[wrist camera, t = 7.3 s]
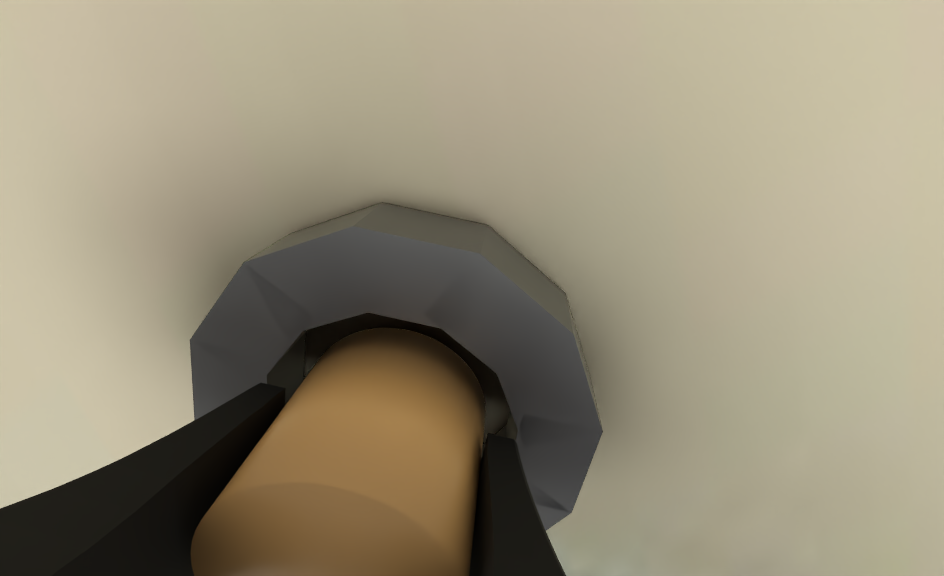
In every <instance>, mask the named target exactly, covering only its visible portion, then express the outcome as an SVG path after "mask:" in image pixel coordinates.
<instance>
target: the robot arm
mask: <svg viewBox="0 0 944 576" xmlns="http://www.w3.org/2000/svg"><path fill="white" fill-rule="evenodd" d="M285 390H286V388H283V387H278V386H274V385H270V384H265V383H259V384H257V385H255V386H253V387H252V388H250V389H248V390H246V391H245V392H243V393H241V394H240V395H238V396H236V397H234V398H233V399H231V400H229V401H228V402H226V403H224V404H222V405H221V406H219V407H217V408H216V409H214V410H212V411H210V412H209V413H207V414H205V415H203V416H202V417H200V418H198V419H196V420H194V421H193V422H191V423H189V424H187V425H186V426H184V427H182V428H180V429H178V430H177V431H175V432H173V433H171V434H169V435H167V436H165V437H163V438H161V439H159V440H157V441H155V442H153V443H151V444H150V445H148V446H146V447H144V448H142V449H140V450H138V451H136V452H134V453H132V454H130V455H128V456H126V457H124V458H122V459H120V460H118V461H116V462H114V463H111V464H109V465H107V466H105V467H103V468H100V469H98V470H96V471H94V472H92V473H89V474H87V475H85V476H82V477H80V478H78V479H75V480H73V481H71V482H68V483H66V484H64V485H61V486H59V487H56V488H54V489H51V490H49V491H46V492H43V493H41V494H38V495H35V496H33V497H30V498H28V499H25V500H22V501H20V502H17V503H14V504H12V505H9V506H6V507H4V508H1V509H0V576H194V573H193V569H192V564H191V544H192V539H193V536H194V533H195V530H196V528H197V526H198V525H199V523H200V521H201V519H202V518H203V517H204V515H205V514H206V513H207V511H208V510H209V509H210V507H211V506H212V504H213V503H214V502H215V500H216V499H217V498H218V496H219V495H220V494H221V492H222V491H223V489H224V488H225V487H226V485H227V484H228V483H229V481H230V480H231V479H232V477H233V476H234V474H235V473H236V472H237V470H238V469H239V468H240V466H241V465H242V464H243V462H244V461H245V459H246V458H247V457H248V455H249V454H250V453H251V451H252V450H253V449H254V447H255V446H256V445H257V443H258V442H259V440H260V439H261V438H262V436H263V435H264V434H265V432H266V431H267V430H268V428H269V427H270V425H271V424H272V423H273V421H274V420H275V419H276V417H277V416H278V415H279V413H280V412H281V410H282V409H283V408H284V406H285ZM469 576H566V575H565V573H564V571H563V569H562V566H561V564H560V562H559V560H558V558H557V556H556V553H555V551H554V549H553V547H552V545H551V542H550V540H549V538H548V535H547V533H546V531H545V528H544V526H543V523H542V521H541V518H540V515H539V513H538V510H537V508H536V505H535V502H534V500H533V497H532V494H531V491H530V488H529V485H528V482H527V479H526V476H525V473H524V469H523V466H522V462H521V459H520V455H519V450H518V446H517V443H516V442H515V440H514V439H511V438H507V437H502V436H498V435H494V434H489V433H488V436H487V440H486V444H485V448H484V452H483V455H482V459H481V465H480V474H479V483H478V493H477V504H476V514H475V523H474V533H473V543H472V552H471V562H470V572H469Z"/></svg>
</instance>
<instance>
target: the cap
mask: <svg viewBox="0 0 944 576" xmlns="http://www.w3.org/2000/svg"><path fill="white" fill-rule="evenodd" d="M485 416H486V407H485V399H484V395H483V391H482V389H481V386H480V384H479V381H478V380H477V378H476V376H475V375H474V373H473V371H472V370H471V369H470V368H469V366H468V365H467V364H466V363H465V362H464V361H463V360H462V359H461V358H460V357H459V356H458V355H457V354H456V353H455V352H454V351H452V350H451V349H450V348H448V347H447V346H445V345H444V344H442V343H440V342H439V341H437V340H435V339H433V338H430V337H428V336H426V335H423V334H420V333H417V332H414V331H409V330H404V329H397V328H375V329H368V330H363V331H360V332H356V333H353V334H351V335H349V336H346V337H344V338H342V339H341V340H339V341H338V342H336V343H334V344H333V345H332V346H331V347H330V348H329V349H327V350H326V351H325V353H324V354H323V355H322V356H321V357H320V359H319V360H318V361H317V363H316V364H315V366H314V367H313V368H312V370H311V371H310V372H309V374H308V375H307V376H306V378H305V379H304V381H303V382H302V383H301V385H300V386H299V387H298V389H297V390H296V391H295V393H294V394H293V395H292V397H291V398H290V400H289V401H288V402H287V404H286V405H285V406H284V408H283V409H282V410H281V412H280V413H279V415H278V416H277V417H276V419H275V420H274V421H273V423H272V424H271V425H270V427H269V428H268V430H267V431H266V432H265V434H264V435H263V436H262V438H261V439H260V440H259V442H258V443H257V445H256V446H255V447H254V449H253V450H252V451H251V453H250V454H249V455H248V457H247V458H246V459H245V461H244V462H243V464H242V465H241V466H240V468H239V469H238V470H237V472H236V473H235V474H234V476H233V477H232V479H231V480H230V481H229V483H228V484H227V485H226V487H225V488H224V489H223V491H222V492H221V494H220V495H219V496H218V498H217V499H216V500H215V502H214V503H213V504H212V506H211V507H210V509H209V510H208V511H207V513H206V514H205V515H204V517H203V518H202V519H201V521H200V523H199V525H198V526H197V528H196V530H195V533H194V536H193V539H192V544H191V564H192V569H193V573H194V576H469V572H470V562H471V552H472V543H473V533H474V523H475V514H476V504H477V493H478V483H479V474H480V465H481V456H482V446H483V436H484V427H485Z"/></svg>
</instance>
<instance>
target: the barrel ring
mask: <svg viewBox="0 0 944 576" xmlns="http://www.w3.org/2000/svg"><path fill="white" fill-rule="evenodd" d="M364 313H373V314H377V315H382V316H386V317H391V318H395V319H400V320H404V321H409V322H414V323H418V324H423V325H427V326H432V327H436V328H441V329H442V330H443V331H445V332H446V333H447V334H448V335H450V336H451V337H452V338H453V339H455V340H456V341H457V342H458V343H460V344H461V345H462V346H463V347H464V348H466V349H467V350H468V351H469V352H471V353H472V354H473V355H474V356H476V357H477V358H478V359H479V360H481V361H482V362H483V363H484V364H486V365H487V366H488V367H489V368H490V369H492V370H493V371H494V372H495V373H497V375H498V378H499V381H500V383H501V386H502V389H503V391H504V394H505V397H506V399H507V402H508V405H509V407H510V414H509V418H508V421H507V425H506V426H505V427H504V428H502V429H501V430H500V431H499V432H498V433H496V434H495V435H498V436H502V437H507V438H511V439H514V440H515V442H516V443H517V446H518V450H519V455H520V459H521V462H522V466H523V469H524V473H525V476H526V479H527V482H528V485H529V488H530V491H531V494H532V497H533V500H534V502H535V505H536V508H537V510H538V513H539V515H540V518H541V521H542V523H543V526H544V528H545V531H546V530H547V529H549V528H550V527H552V526H553V525H555V524H556V523H557V522H559V521H560V520H562V519H563V518H565V517H566V516H568V515H569V514H570V513H572V510H573V508H574V505H575V502H576V500H577V497H578V495H579V492H580V489H581V487H582V484H583V482H584V479H585V476H586V474H587V471H588V469H589V466H590V463H591V461H592V458H593V456H594V453H595V450H596V448H597V445H598V443H599V440H600V437H601V435H602V432H603V431H602V426H601V422H600V418H599V413H598V409H597V405H596V400H595V396H594V391H593V387H592V383H591V379H590V375H589V372H588V368H587V365H586V362H585V358H584V355H583V351H582V348H581V345H580V341H579V338H578V334H577V331H576V328H575V324H574V321H573V317H572V314H571V311H570V307H569V304H568V300H567V297H566V294H565V293H564V292H563V291H562V290H561V289H560V288H559V287H557V286H556V285H555V284H554V283H553V282H552V281H551V280H549V279H548V278H547V277H546V276H545V275H544V274H543V273H542V272H540V271H539V270H538V269H537V268H536V267H535V266H534V265H532V264H531V263H530V262H529V261H528V260H527V259H526V258H525V257H523V256H522V255H521V254H520V253H519V252H518V251H517V250H515V249H514V248H513V247H512V246H511V245H510V244H509V243H508V242H506V241H505V240H504V239H503V238H502V237H501V236H500V235H498V234H497V233H496V232H495V231H494V230H493V229H492V228H490V227H489V226H488V225H485V224H480V223H475V222H471V221H466V220H461V219H457V218H452V217H447V216H443V215H438V214H433V213H429V212H424V211H419V210H415V209H410V208H406V207H401V206H396V205H392V204H387V203H380V204H377V205H374V206H371V207H368V208H365V209H362V210H359V211H356V212H353V213H350V214H347V215H344V216H341V217H338V218H335V219H332V220H329V221H326V222H323V223H320V224H317V225H314V226H311V227H308V228H306V229H303V230H300V231H297V232H294V233H291V234H289V235H287V236H285V237H284V238H282V239H281V240H279V241H277V242H276V243H274V244H273V245H271V246H269V247H268V248H266V249H264V250H263V251H261V252H260V253H258V254H256V255H255V256H253V257H251V258H250V259H248V260H247V261H245V262H244V263H243V264H242V266H241V267H240V269H239V270H238V271H237V273H236V274H235V276H234V277H233V279H232V280H231V282H230V283H229V284H228V286H227V287H226V289H225V290H224V292H223V293H222V294H221V296H220V297H219V299H218V300H217V302H216V303H215V305H214V306H213V307H212V309H211V310H210V312H209V313H208V315H207V316H206V317H205V319H204V320H203V322H202V323H201V325H200V326H199V328H198V329H197V330H196V332H195V333H194V335H193V336H192V338H191V339H190V350H191V367H192V384H193V401H194V418H195V420H196V419H198V418H200V417H202V416H203V415H205V414H207V413H209V412H210V411H212V410H214V409H216V408H217V407H219V406H221V405H222V404H224V403H226V402H228V401H229V400H231V399H233V398H234V397H236V396H238V395H240V394H241V393H243V392H245V391H246V390H248V389H250V388H252V387H253V386H255V385H257V384H259V383H265V384H270V385H274V386H278V387H283V388H286V390H285V405H286V404H287V402H288V401H289V400H290V398H291V397H292V395H293V394H294V393H295V391H296V390H297V389H298V387H299V386H300V385H301V383H302V382H303V371H304V353H305V335H306V331H307V330H308V329H311V328H315V327H318V326H322V325H325V324H329V323H333V322H336V321H340V320H343V319H347V318H350V317H354V316H357V315H361V314H364ZM485 444H486V443H484V444H483V446H482V455H483V452H484V448H485ZM481 459H482V456H481Z"/></svg>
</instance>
